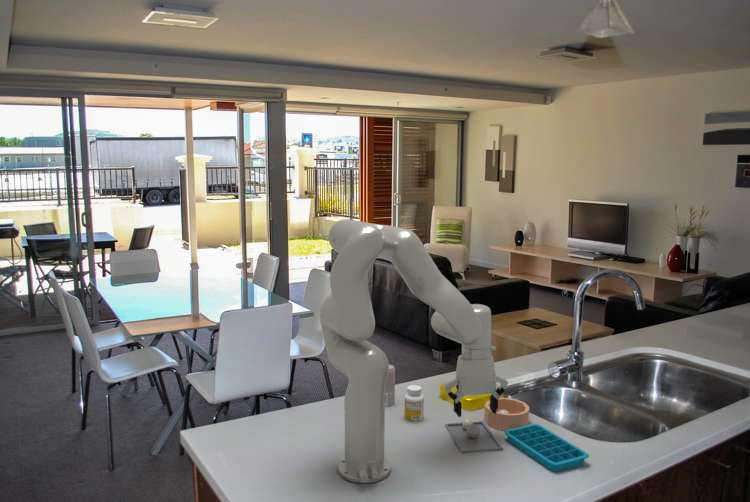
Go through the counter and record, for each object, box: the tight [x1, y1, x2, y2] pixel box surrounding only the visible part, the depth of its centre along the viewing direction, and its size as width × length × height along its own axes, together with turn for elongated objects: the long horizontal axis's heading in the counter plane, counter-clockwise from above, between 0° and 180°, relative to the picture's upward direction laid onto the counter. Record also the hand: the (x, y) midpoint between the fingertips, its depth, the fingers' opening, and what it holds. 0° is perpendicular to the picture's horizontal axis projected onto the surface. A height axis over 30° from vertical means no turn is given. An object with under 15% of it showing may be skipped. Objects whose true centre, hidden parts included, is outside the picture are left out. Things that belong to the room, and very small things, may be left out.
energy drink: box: [385, 363, 396, 408], centre depth 186 cm, size 5×5×12 cm
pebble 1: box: [461, 417, 474, 429], centre depth 169 cm, size 3×3×3 cm
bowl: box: [483, 397, 530, 431], centre depth 174 cm, size 12×12×5 cm
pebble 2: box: [466, 424, 480, 438], centre depth 165 cm, size 4×4×4 cm
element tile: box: [439, 381, 504, 412], centre depth 191 cm, size 15×15×5 cm
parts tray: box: [444, 421, 504, 454], centre depth 165 cm, size 16×11×1 cm
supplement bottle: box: [404, 384, 425, 424], centre depth 176 cm, size 5×5×10 cm
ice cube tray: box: [504, 423, 590, 472], centre depth 157 cm, size 12×20×3 cm, turn 25°
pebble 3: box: [498, 410, 510, 414], centre depth 173 cm, size 4×4×4 cm
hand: (475, 413), depth 164 cm, fingers open, 9 cm apart
